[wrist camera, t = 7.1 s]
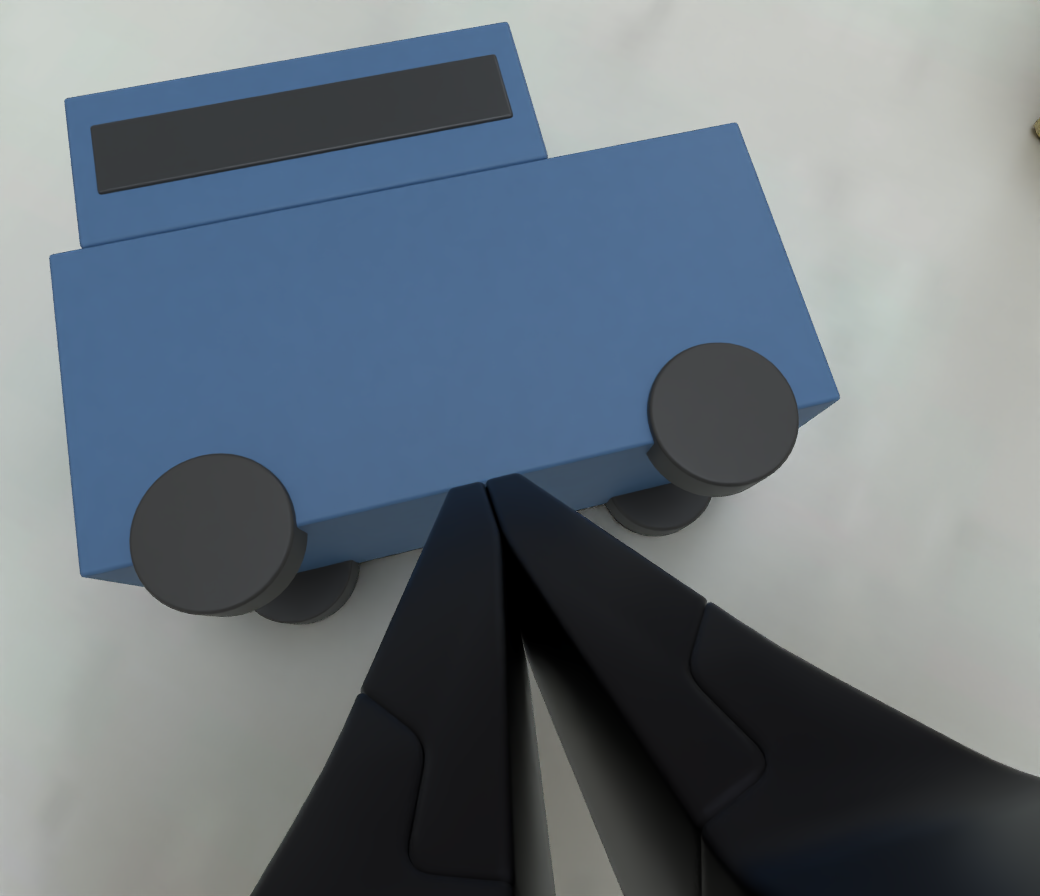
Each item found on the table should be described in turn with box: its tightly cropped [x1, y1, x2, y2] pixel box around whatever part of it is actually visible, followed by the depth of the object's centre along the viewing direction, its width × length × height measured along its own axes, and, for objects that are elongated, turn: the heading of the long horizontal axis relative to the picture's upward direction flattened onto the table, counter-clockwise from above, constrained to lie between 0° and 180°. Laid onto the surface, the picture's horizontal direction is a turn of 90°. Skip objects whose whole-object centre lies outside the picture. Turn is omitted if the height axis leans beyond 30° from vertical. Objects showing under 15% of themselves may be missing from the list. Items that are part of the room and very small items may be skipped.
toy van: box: [49, 22, 840, 624], centre depth 15 cm, size 6×12×9 cm
